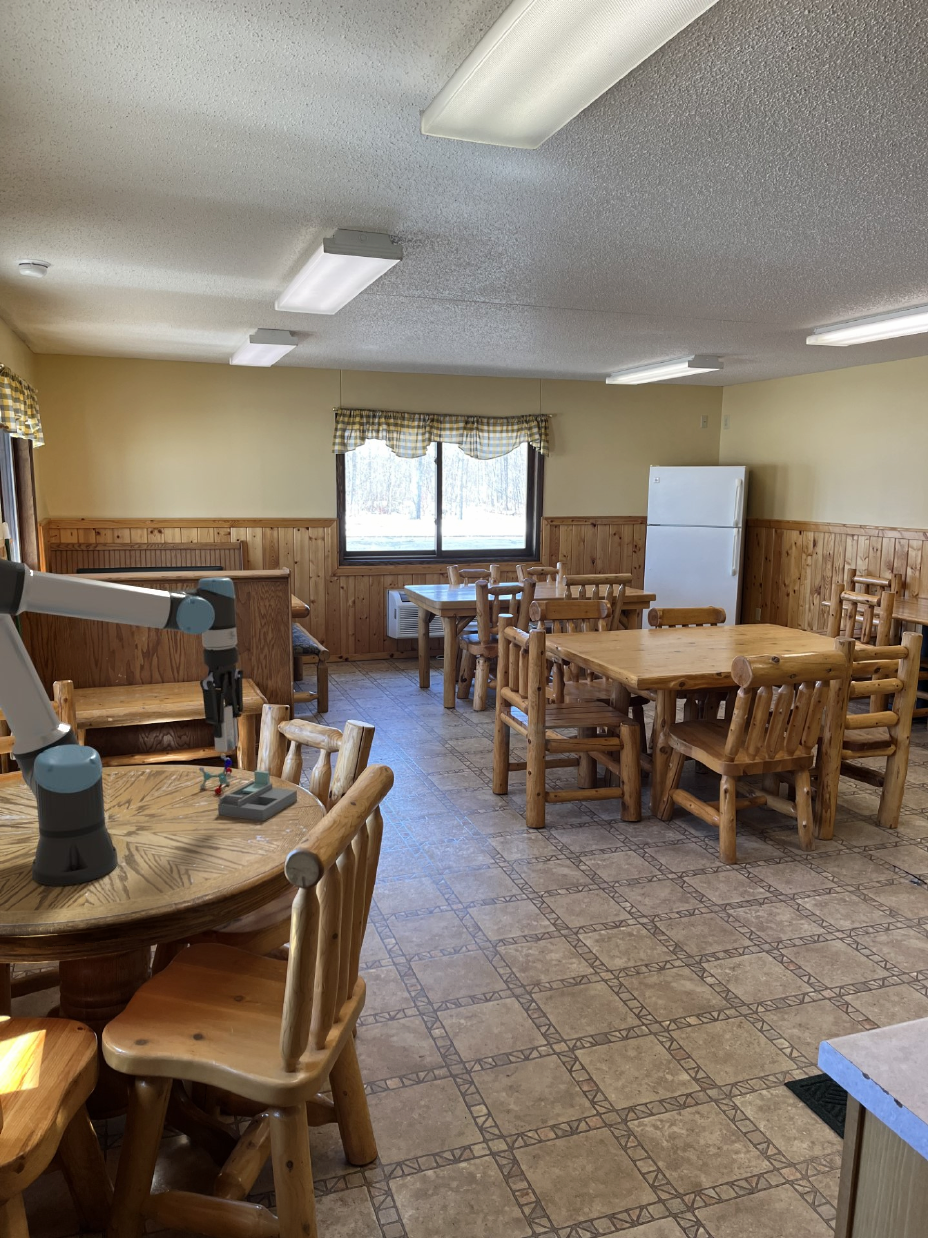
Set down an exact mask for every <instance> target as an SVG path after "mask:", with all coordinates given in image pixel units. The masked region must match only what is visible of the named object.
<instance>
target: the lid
mask: <svg viewBox="0 0 928 1238" xmlns="http://www.w3.org/2000/svg"><path fill="white" fill-rule="evenodd" d="M253 772H254V781H255V784H253V785H251V786H249V787H247V788H246V789H244V790H243V793H250V794H251V793H253V792H255V791H257V790H258V789H260V788H262V787H264V786H266V785H268V784H269V783H271V779H270V778H271V777H270V771H267V770H266V771H265V770H258V769H257V770H255V771H253Z"/></svg>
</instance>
